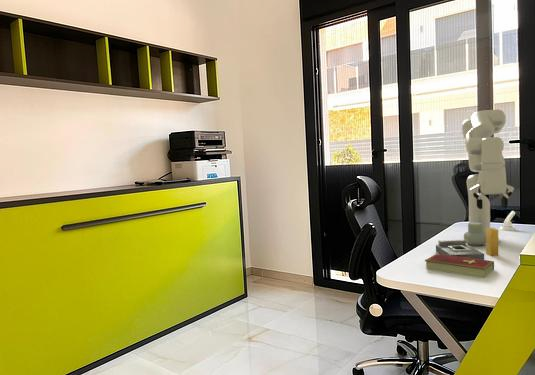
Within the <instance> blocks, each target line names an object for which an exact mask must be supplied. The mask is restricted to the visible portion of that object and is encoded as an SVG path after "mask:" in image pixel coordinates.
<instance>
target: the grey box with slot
mask: <svg viewBox="0 0 535 375" xmlns="http://www.w3.org/2000/svg"><path fill="white" fill-rule="evenodd" d="M435 253H436V254H441V255H449V256H457V257H465V258H473V259H481V260H485V254H484V253H483V252H481V251H479V250H478V249H476V248H474V247H472V245H468V244H467V243H466V241H465V240H464V239H449V240H446V239H445V240H438V244H435Z"/></svg>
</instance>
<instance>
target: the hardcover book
mask: <svg viewBox="0 0 535 375" xmlns="http://www.w3.org/2000/svg"><path fill="white" fill-rule="evenodd" d="M424 262H426V264H425V265H426V268H425V269H426V270H430V271H438V272H442V273H443V272H444V273H451V274H456V275H462V276H468V277H475V278H483V279H485V277H487V276H488V275H489V274H490V273H492V272H493V271H495V261H494V260H489V259H488V260H487V259H484V260H481V259H473V258H465V257H457V256H449V255H441V254H439V253H435V254H433V255H431V256H429V257H428V258H426V259H424Z"/></svg>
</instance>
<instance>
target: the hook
mask: <svg viewBox="0 0 535 375" xmlns="http://www.w3.org/2000/svg"><path fill="white" fill-rule="evenodd" d="M515 215H516V212H515V211H514V210H511V211H510V213H508V215H507V216H506V218H505V219H504V221H503V225H500V227H499V230H500V231H506V232H507V231H509V232H510V231H511V232H513V231H516V230H517V228H516V227H515V226H514V225H513V223H512V222H511V220H512V219H513V217H514V216H515Z"/></svg>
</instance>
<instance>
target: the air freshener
mask: <svg viewBox="0 0 535 375" xmlns="http://www.w3.org/2000/svg"><path fill="white" fill-rule="evenodd" d="M463 240H465V241H466V244H467V245H469V246H484V245H486V234H485V233H483V232H482V223H476V222H472V223H469V222H468V223H467V232H465V233H464V234H463Z"/></svg>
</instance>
